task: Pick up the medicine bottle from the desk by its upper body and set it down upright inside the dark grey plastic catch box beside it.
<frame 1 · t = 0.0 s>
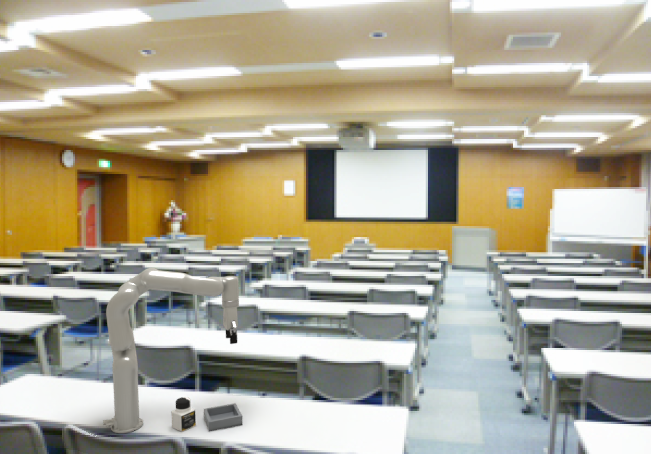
hand: (231, 340, 217), 31 cm above the table, tool pointing down, fingers open, 9 cm apart
medicine bottle: (183, 427, 201), on the table
catch box: (222, 421, 205), on the table
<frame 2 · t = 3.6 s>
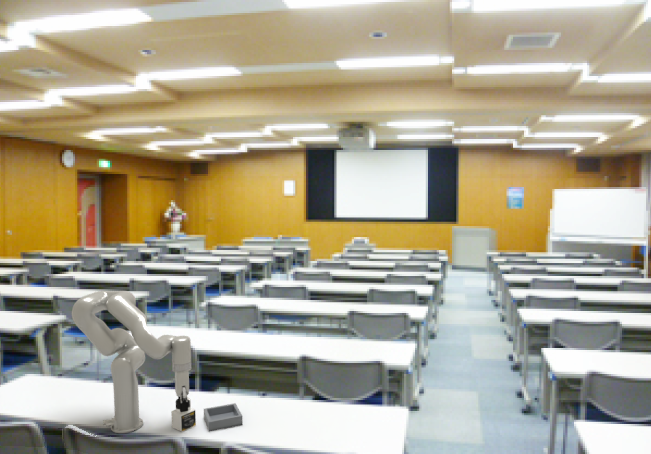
hand: (183, 407, 200), 8 cm above the table, tool pointing down, fingers closed on medicine bottle, 6 cm apart
medicine bottle: (183, 427, 201), on the table, touching gripper
when the fingers open (11 cm above the table, at t = 10.3 s): medicine bottle drops 2 cm, resting on catch box.
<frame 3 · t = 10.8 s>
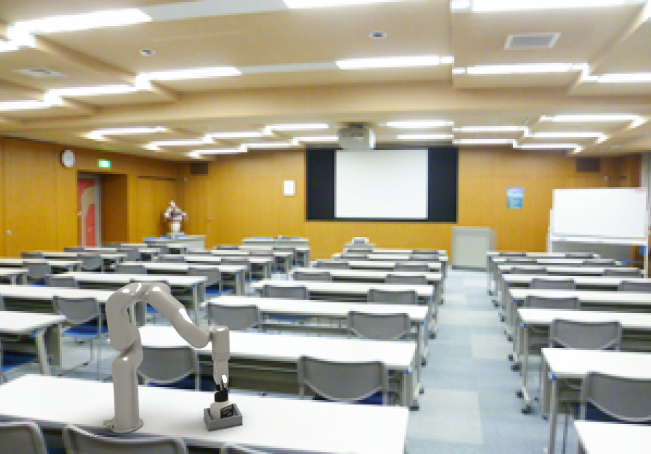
hand: (222, 394, 204), 12 cm above the table, tool pointing down, fingers open, 9 cm apart
medicine bottle: (222, 419, 205), point 1 cm above the table, touching catch box
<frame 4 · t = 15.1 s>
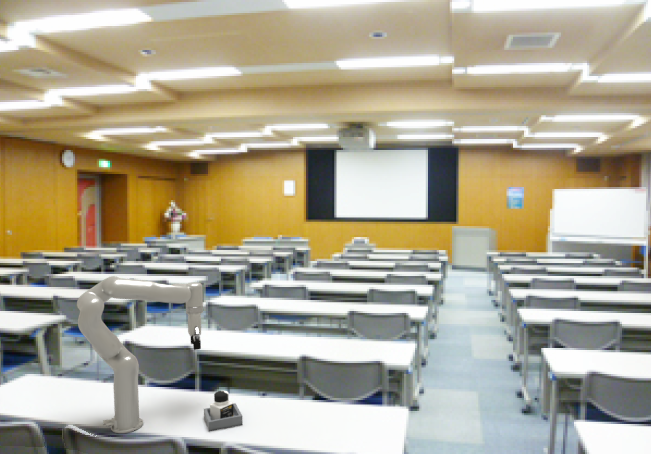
hand: (195, 346, 219), 28 cm above the table, tool pointing down, fingers open, 9 cm apart
nothing on the table moved.
at the end: medicine bottle inside the target area on the catch box (0.4 cm from its centre), point 0.6 cm above the catch box's base; medicine bottle tilted 0°; the gripper is holding nothing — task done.
